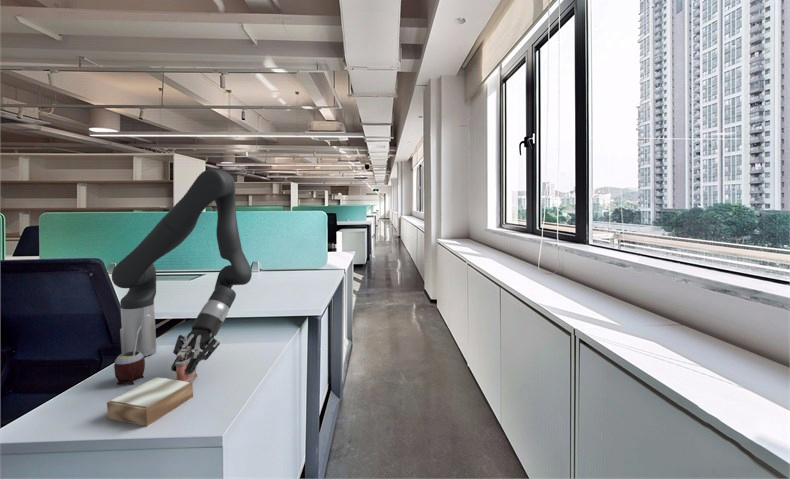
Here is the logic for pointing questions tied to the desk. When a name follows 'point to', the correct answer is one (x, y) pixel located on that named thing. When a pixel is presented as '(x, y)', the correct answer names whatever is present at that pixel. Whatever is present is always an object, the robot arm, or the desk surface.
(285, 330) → the desk surface
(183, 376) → the lighter
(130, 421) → the wooden flat block
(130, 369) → the mate gourd
